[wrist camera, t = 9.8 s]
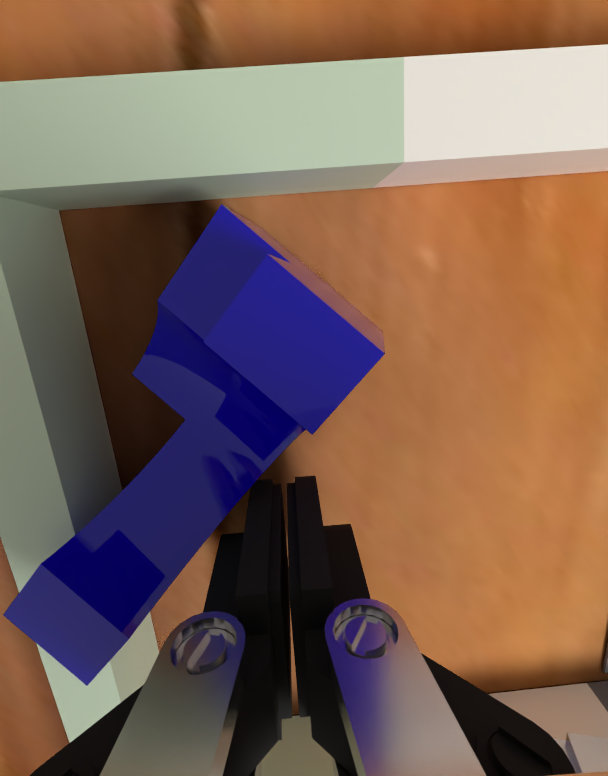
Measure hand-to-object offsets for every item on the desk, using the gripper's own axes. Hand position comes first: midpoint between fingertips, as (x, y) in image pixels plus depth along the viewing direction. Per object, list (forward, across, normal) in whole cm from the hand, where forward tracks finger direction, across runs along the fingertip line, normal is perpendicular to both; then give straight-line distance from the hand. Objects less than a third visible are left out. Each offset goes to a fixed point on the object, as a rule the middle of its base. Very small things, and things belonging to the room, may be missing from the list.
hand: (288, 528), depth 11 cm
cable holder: (+1, +1, -3) cm, 4 cm away
